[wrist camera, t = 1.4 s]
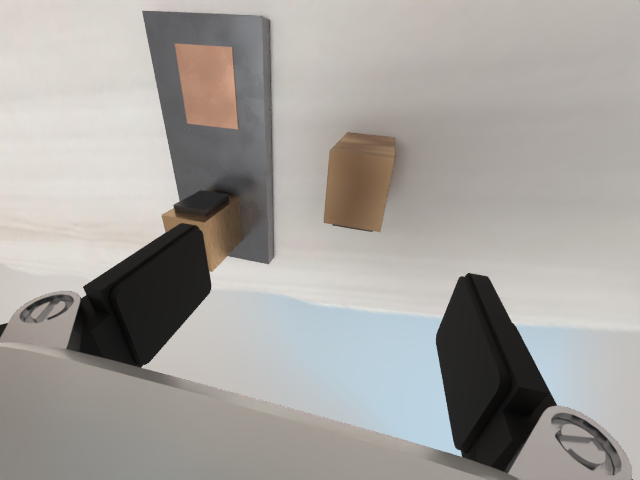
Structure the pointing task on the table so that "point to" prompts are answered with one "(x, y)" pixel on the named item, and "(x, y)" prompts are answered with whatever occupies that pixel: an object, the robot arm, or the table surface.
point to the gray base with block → (217, 127)
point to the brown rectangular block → (359, 181)
